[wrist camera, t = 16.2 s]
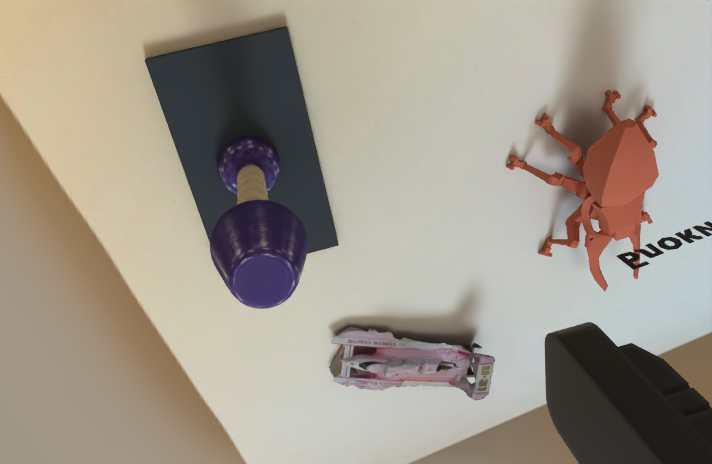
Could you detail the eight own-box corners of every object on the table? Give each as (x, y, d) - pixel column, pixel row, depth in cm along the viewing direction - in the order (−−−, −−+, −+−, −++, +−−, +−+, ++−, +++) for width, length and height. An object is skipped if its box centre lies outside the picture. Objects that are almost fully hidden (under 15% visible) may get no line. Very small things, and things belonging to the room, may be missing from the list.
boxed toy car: (325, 379, 49) (333, 413, 46) (333, 326, 47) (342, 358, 43) (467, 376, 52) (484, 408, 49) (481, 326, 50) (500, 356, 46)
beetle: (498, 128, 42) (594, 190, 31) (651, 71, 42) (800, 112, 31) (528, 287, 49) (615, 385, 38) (659, 237, 49) (784, 319, 38)
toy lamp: (210, 131, 37) (197, 244, 23) (281, 123, 38) (312, 227, 23) (222, 198, 40) (217, 341, 25) (289, 189, 40) (322, 323, 26)
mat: (145, 58, 35) (144, 59, 35) (286, 26, 36) (287, 27, 36) (222, 272, 43) (222, 276, 42) (337, 242, 43) (338, 245, 43)
